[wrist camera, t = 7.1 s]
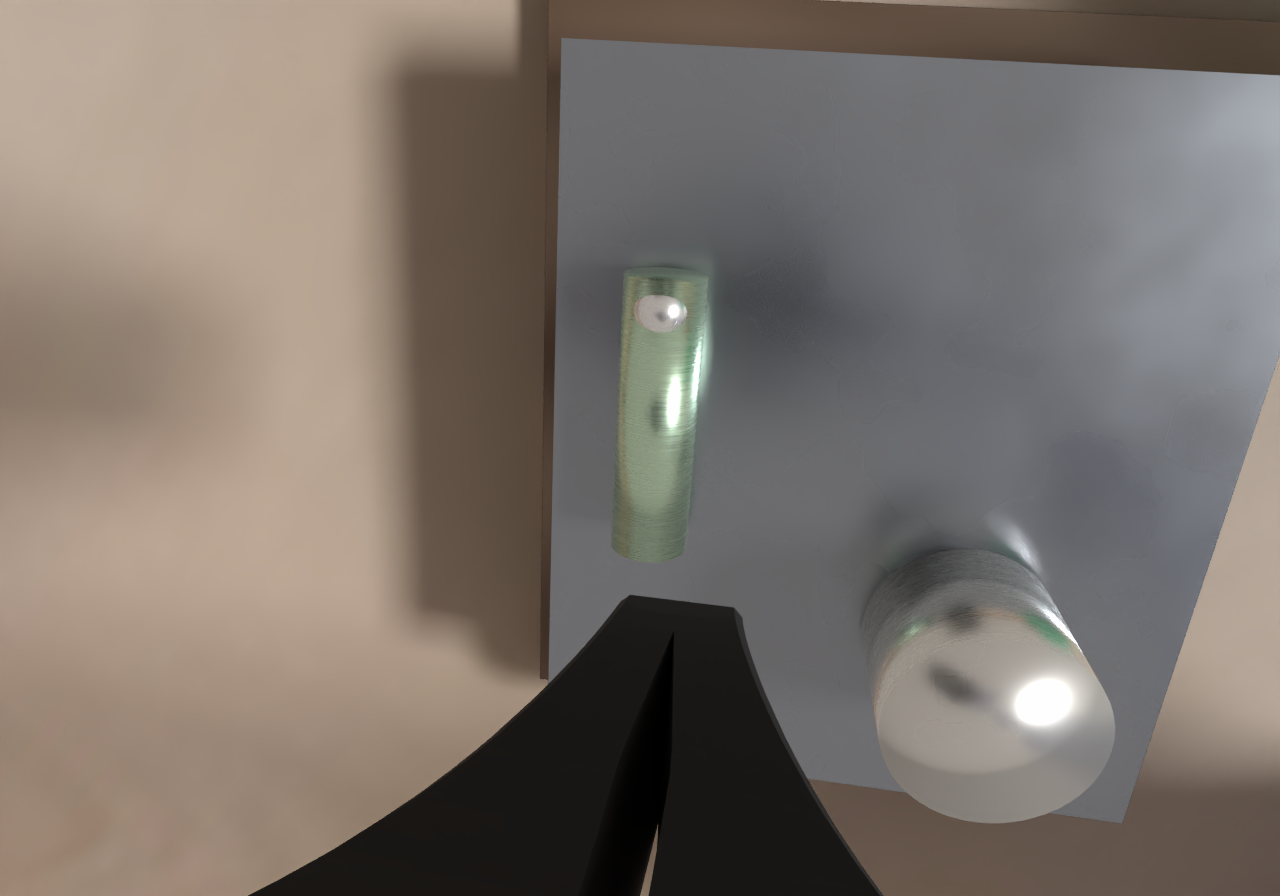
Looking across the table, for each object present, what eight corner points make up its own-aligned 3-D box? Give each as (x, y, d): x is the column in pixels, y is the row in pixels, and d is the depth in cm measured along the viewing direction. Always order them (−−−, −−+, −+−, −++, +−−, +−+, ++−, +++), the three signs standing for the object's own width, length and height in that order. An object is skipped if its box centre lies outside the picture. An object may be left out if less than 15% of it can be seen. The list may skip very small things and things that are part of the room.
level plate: (1104, 788, 19) (1186, 955, 15) (557, 712, 20) (509, 848, 16) (1330, 82, 14) (1539, 71, 10) (574, 42, 15) (509, 21, 11)
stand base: (1092, 747, 22) (1132, 830, 19) (545, 674, 23) (518, 742, 21) (1318, 27, 16) (1420, 14, 13) (555, -9, 17) (519, -27, 15)
